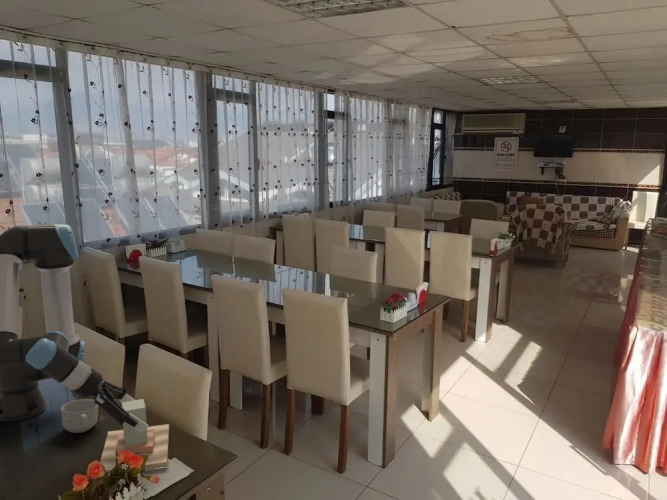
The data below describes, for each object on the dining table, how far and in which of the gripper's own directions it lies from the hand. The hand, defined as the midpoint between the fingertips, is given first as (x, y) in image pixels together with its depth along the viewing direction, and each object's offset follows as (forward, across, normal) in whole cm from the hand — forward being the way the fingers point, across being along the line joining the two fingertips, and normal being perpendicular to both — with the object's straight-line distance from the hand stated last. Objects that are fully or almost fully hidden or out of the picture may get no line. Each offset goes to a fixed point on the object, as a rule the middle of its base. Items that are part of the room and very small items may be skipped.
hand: (142, 418), depth 152 cm
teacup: (-4, -21, -19) cm, 29 cm away
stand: (+6, 0, -9) cm, 10 cm away
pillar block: (+3, 0, -6) cm, 7 cm away
